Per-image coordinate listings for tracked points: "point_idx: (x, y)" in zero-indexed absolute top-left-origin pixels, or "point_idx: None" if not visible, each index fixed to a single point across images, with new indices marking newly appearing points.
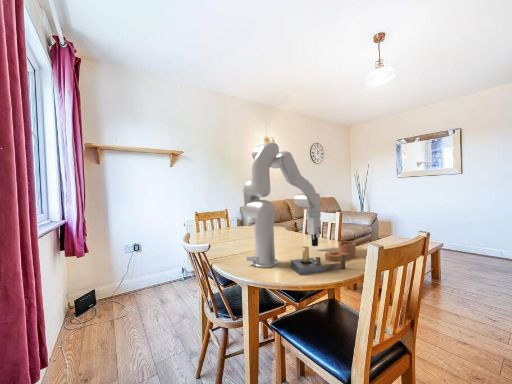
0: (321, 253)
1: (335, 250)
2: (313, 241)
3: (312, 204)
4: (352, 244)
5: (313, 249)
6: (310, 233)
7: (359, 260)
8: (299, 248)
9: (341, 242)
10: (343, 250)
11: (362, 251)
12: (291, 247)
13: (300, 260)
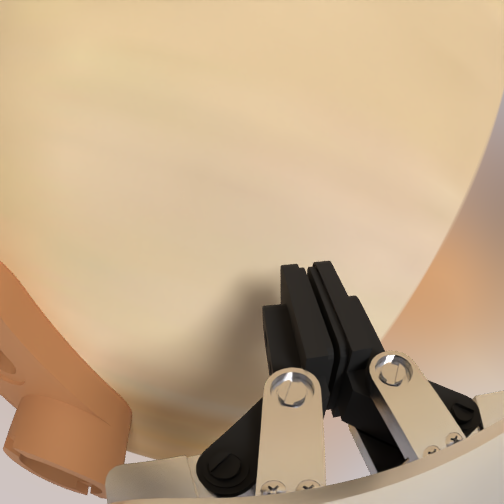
0: (129, 280)
1: (67, 391)
2: (296, 334)
3: None
4: (31, 471)
5: (329, 250)
6: (367, 500)
7: None
8: (440, 96)
9: (81, 476)
10: (16, 410)
11: None
12: (494, 39)
13: None
